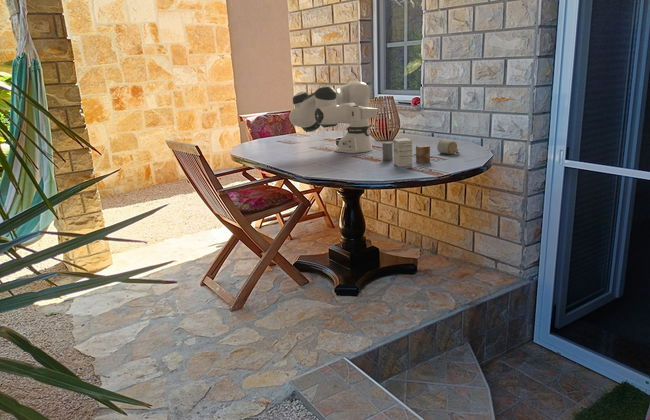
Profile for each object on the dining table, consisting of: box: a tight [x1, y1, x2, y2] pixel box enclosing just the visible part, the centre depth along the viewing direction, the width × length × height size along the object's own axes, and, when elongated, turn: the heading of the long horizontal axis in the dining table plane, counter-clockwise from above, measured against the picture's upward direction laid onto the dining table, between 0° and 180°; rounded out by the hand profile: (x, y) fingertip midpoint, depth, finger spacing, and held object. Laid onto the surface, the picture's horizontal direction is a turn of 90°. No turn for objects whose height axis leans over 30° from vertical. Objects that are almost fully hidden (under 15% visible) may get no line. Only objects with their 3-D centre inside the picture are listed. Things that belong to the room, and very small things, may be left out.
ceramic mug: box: [436, 138, 459, 155], centre depth 266 cm, size 11×8×8 cm
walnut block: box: [415, 144, 431, 164], centre depth 249 cm, size 5×5×8 cm
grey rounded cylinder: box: [382, 141, 394, 162], centre depth 259 cm, size 5×5×9 cm
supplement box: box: [393, 137, 413, 168], centre depth 245 cm, size 7×7×13 cm
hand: (377, 109), depth 235 cm, fingers closed
